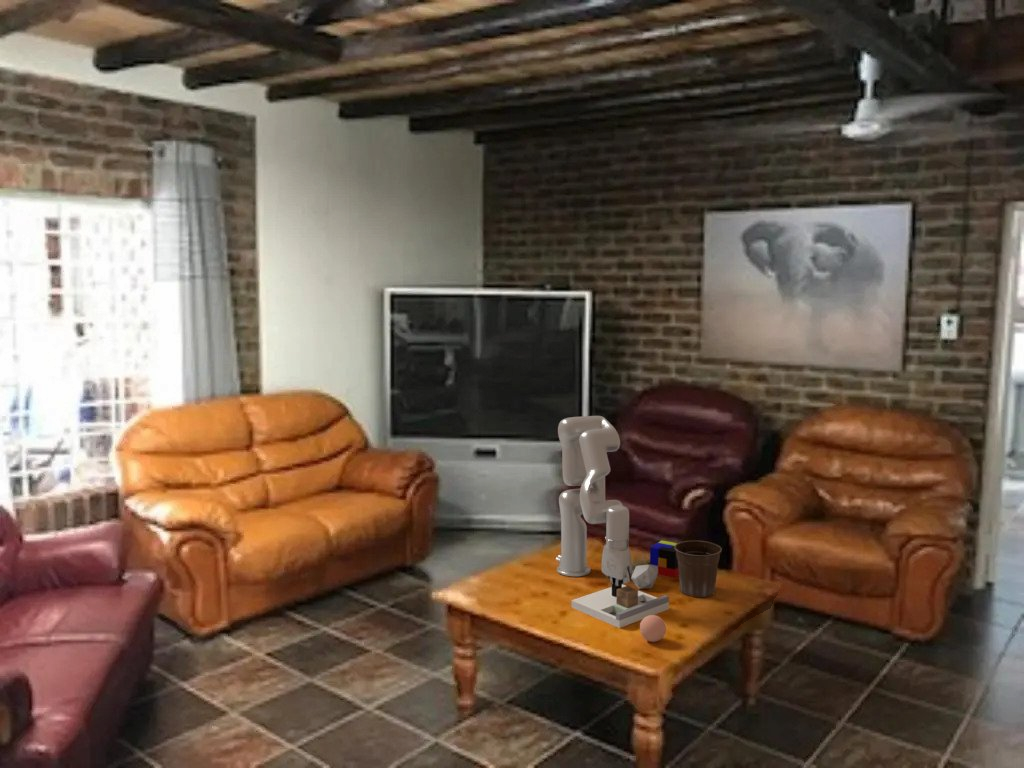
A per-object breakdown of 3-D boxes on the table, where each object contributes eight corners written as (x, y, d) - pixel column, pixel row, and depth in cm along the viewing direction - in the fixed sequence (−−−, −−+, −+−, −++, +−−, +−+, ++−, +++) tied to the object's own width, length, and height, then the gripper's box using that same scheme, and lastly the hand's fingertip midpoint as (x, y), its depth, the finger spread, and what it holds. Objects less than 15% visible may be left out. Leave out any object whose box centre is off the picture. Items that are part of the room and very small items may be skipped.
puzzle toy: (649, 572, 321) (650, 547, 320) (661, 565, 329) (661, 540, 328) (674, 578, 315) (675, 552, 314) (685, 570, 323) (686, 544, 322)
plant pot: (691, 603, 291) (692, 557, 289) (664, 587, 306) (665, 543, 304) (730, 595, 298) (731, 551, 296) (701, 580, 312) (702, 538, 310)
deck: (571, 607, 288) (571, 594, 287) (620, 590, 303) (620, 578, 302) (619, 628, 271) (619, 614, 270) (668, 609, 286) (668, 596, 285)
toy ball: (661, 634, 266) (661, 610, 265) (669, 645, 258) (669, 620, 257) (636, 636, 265) (636, 611, 264) (643, 647, 257) (644, 622, 256)
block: (616, 603, 284) (616, 589, 284) (626, 600, 287) (626, 585, 287) (627, 608, 280) (627, 593, 280) (637, 604, 284) (638, 590, 283)
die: (626, 588, 307) (633, 573, 300) (633, 570, 313) (640, 555, 306) (647, 598, 305) (654, 583, 299) (654, 580, 311) (661, 565, 305)
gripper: (593, 539, 288) (593, 591, 291) (626, 550, 277) (625, 604, 279) (609, 535, 293) (608, 586, 296) (641, 546, 282) (640, 599, 284)
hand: (616, 595), depth 287 cm, fingers closed
